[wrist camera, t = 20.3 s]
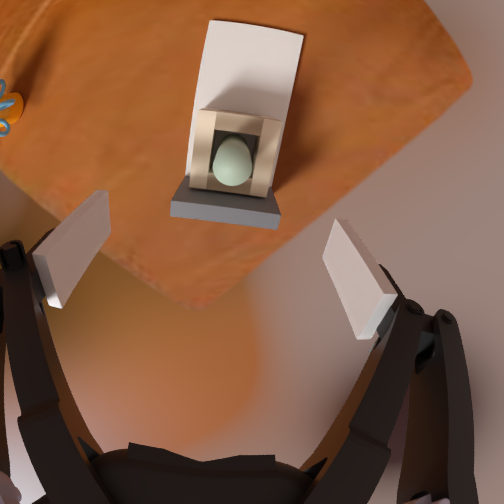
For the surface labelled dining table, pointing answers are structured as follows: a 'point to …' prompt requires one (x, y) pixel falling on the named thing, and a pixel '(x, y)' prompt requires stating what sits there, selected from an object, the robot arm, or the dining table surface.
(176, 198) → the backstop
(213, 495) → the robot arm
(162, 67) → the dining table surface
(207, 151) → the block
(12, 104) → the orange ringed tube
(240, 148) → the dowel
